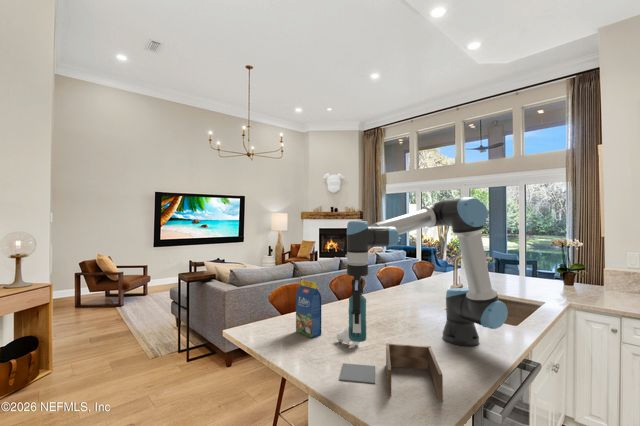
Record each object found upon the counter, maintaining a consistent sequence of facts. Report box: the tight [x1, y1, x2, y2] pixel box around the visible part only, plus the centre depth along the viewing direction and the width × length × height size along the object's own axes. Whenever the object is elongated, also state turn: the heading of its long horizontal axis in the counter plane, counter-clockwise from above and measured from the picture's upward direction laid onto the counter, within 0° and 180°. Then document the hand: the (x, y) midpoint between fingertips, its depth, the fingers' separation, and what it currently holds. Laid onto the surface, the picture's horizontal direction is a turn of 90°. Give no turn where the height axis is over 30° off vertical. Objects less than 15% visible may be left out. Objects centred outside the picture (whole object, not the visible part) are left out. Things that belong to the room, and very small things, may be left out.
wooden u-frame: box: [385, 342, 444, 402], centre depth 103 cm, size 16×21×8 cm
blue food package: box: [295, 279, 322, 339], centre depth 148 cm, size 6×12×25 cm, turn 42°
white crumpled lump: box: [336, 326, 361, 349], centre depth 134 cm, size 6×8×12 cm
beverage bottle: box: [348, 286, 367, 343], centre depth 109 cm, size 6×7×20 cm
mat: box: [338, 363, 376, 385], centre depth 109 cm, size 12×12×1 cm
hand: (357, 328), depth 109 cm, fingers closed on beverage bottle, 6 cm apart
